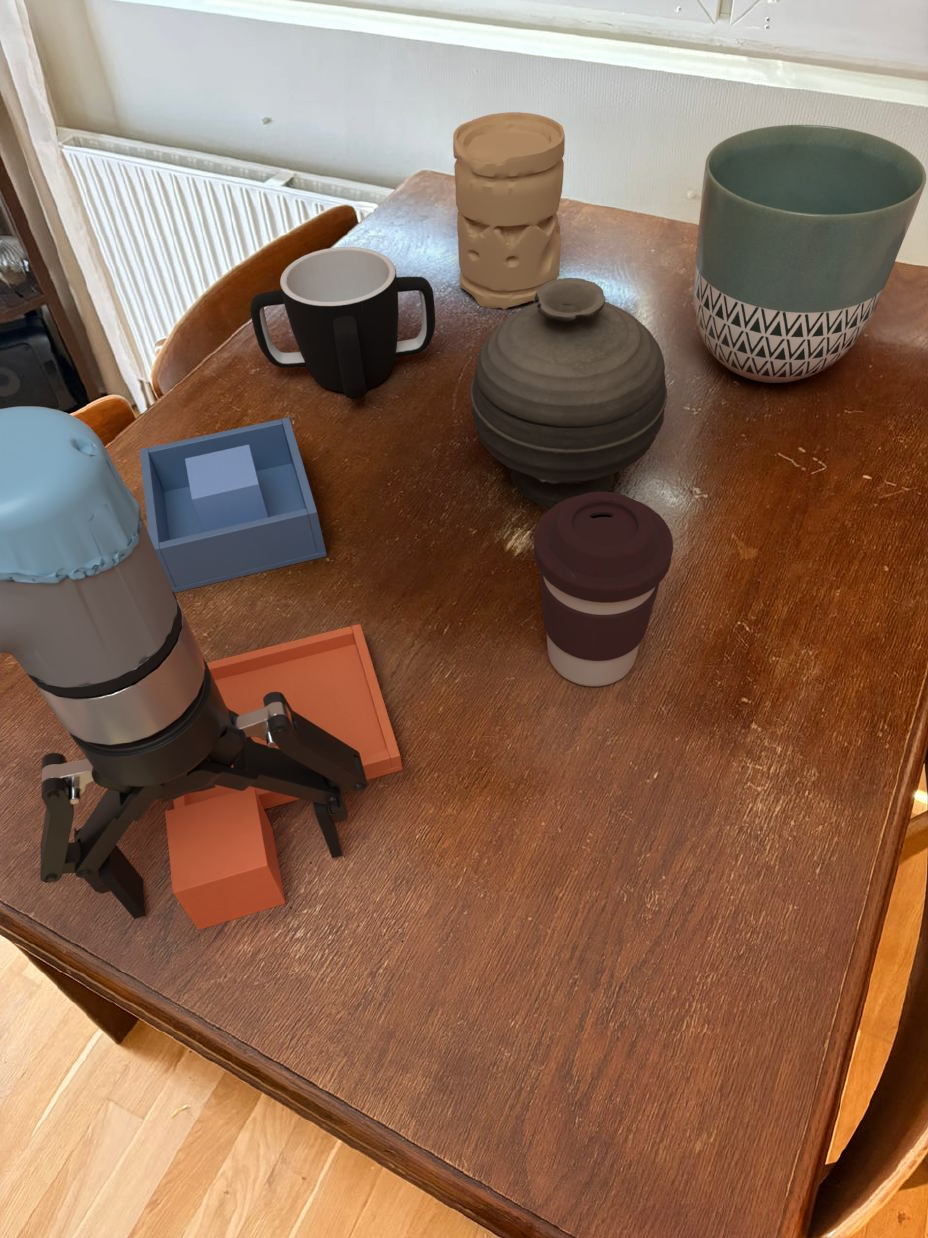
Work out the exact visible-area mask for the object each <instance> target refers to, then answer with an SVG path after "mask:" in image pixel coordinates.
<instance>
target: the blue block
mask: <svg viewBox="0 0 928 1238" xmlns="http://www.w3.org/2000/svg"><path fill="white" fill-rule="evenodd" d="M185 462H186V468H187V474H188V480H189V486H190V492H191V497H192V501H193V504H194V507H195V509H196V512H197V515H198V518H199V520H200V523H201V526H202V529H203V532H207V531H211V530H216V529H220V528H224V527H228V526H233V525H237V524H241V523H246V522H250V521H254V520H259V519H263V518H267V517H269V516H268V512H267V508H266V504H265V500H264V497H263V493H262V489H261V485H260V482H259V478H258V475H257V471H256V468H255V464H254V461H253V457H252V453H251V450H250V446H249V445H244V446H240V447H235V448H231V449H226V450H222V451H217V452H213V453H208V454H204V455H200V456H195V457H191V458H186V459H185Z"/></svg>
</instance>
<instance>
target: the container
mask: <svg viewBox="0 0 928 1238" xmlns="http://www.w3.org/2000/svg"><path fill="white" fill-rule="evenodd" d="M565 138H566V135H565V130H564V127H563V126H562V124H560V123H559V122H558V121H556V120H554V119H553V118H550V117H547V116H544V115H541V114H537V113H530V112H520V111H518V112H516V111H514V112H513V111H512V112H511V111H510V112H498V113H490V114H487V115H482V116H480V117H477V118H475V119H472V120H470V121H466V122H464V123H461V124H460V125H459V126H458V127H456V129H455V130H454V132H453V136H452V149H453V150H452V151H453V158H454V159H455V162H454V166H453V168H454V182H455V183H454V184H455V205H456V208H457V218H456V229H457V232H456V233H457V251H458V266H459V269H460V271H459V287H460V290H464V291H466V292H467V293H468V294H470V295H471V296H472V297H473V298H474V300H475V301H476V303H477V305H479V306H480V307H481V308H482V307H483V308H488V309H496V310H497V309H501V310H503V311H506V310H507V309H509V308H512V307H517V306H520V305H523V304H525V303H529V302H534V296H535V295H536V292H537V290H538V289H539V288H540V287H541V286H542V285H544V284H545V283H548V282H550V281H553V280H557V279H559V276H560V272H561V271H560V267H561V248H562V247H561V245H562V243H561V242H562V238H561V226H560V222H559V216H558V212H559V207H560V203H561V198H562V194H563V184H564V169H565V167H564V166H565V162H564V159H563V158H564V155H565V145H566V144H565V142H566V139H565Z"/></svg>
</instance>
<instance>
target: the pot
mask: <svg viewBox="0 0 928 1238" xmlns="http://www.w3.org/2000/svg"><path fill="white" fill-rule="evenodd" d="M606 300H607V299H606V296H605V295H604V290H603V288H602V287H601V286H600V285H599V284H598V283H596V282H593V281H590V280H587V279H585V278H578V277H563V278H557V279H556V280H553V281H550V282H548V283H545V284H544V285H542V286H541V287H540V288H539V289H538V290H537V292H536V295H535V296H534V301H533V303H532V304H530V305H527V306H525V307H523V308H522V309H520V310H518V311H516V312H515V313H514V314H512V315H510V316H509V317H508V318H506V319H505V320H503V322H501V323H500V324H499V325H498V326H497V327H496V328H495V329H494V331H492V333H491V334H490V335H489V336H488V337H487V339H485V341H484V342H483V345H482V347H481V349H480V350H479V353H478V355H477V358H476V363H475V371H474V373H473V377H472V380H471V382H470V386H469V387H470V388H469V394H470V395H469V397H470V403H471V405H472V408H471V409H472V410H471V413H472V420H473V422H474V426H475V428H476V432H477V435H478V438H479V441H480V443H481V444H482V445H483V447H484V449H486V451H487V452H488V453H489V454H490V455H491V456H492V457H493V458H495V459H496V460H497V461H499V462H500V463H501V464H502V465H504V466H505V467H506V468H508V469H510V470H511V471H510V478H511V479H512V483H513V485H514V487H515V488H516V490H517V491H518V492H519V493H520V494H521V496H522V497H524V498H526V499H527V500H528V501H531V502H532V503H534V504H537V505H539V506H542V507H545V508H548V509H551V508H552V507H554V506H555V505H557V504H558V503H560V502H562V501H564V500H567V499H569V498H572V497H576V496H580V495H583V494H586V493H592V492H609V491H610V490H611V488H612V486H613V485H614V480H615V474H616V473H619V472H621V471H623V470H625V469H627V468H628V467H630V466H632V465H633V464H635V463H637V462H638V461H639V460H640V459H641V458H642V457H644V456H645V455H646V453H647V452H648V451H649V450H650V448H651V446H653V445H652V444H653V443H654V442H655V439H656V437H657V435H658V434H659V433H660V430H661V428H662V426H663V423H664V419H665V409H666V407H667V401H668V388H667V384H666V383H667V382H666V374H665V370H666V365H665V359H664V354H663V352H662V349H661V347H660V345H659V343H658V342H657V340H656V338H655V337H654V335H653V334H652V333H651V331H650V330H649V329H648V328H647V327H646V325H644V323H642V322H641V321H640V320H639V319H637V318H636V317H635V316H634V315H632V314H631V313H629V312H627V311H626V310H624V309H622V308H620V307H618V306H617V305H615V304H612V303H609V302H607V301H606Z"/></svg>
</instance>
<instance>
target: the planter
mask: <svg viewBox="0 0 928 1238" xmlns="http://www.w3.org/2000/svg"><path fill="white" fill-rule="evenodd" d="M702 179H703V180H702V189H701V196H700V197H701V198H700V200H701V201H700V211H699V221H698V231H697V238H696V248H695V249H696V250H695V262H694V271H693V273H694V274H693V282H692V302H693V312H694V313H693V314H694V317H695V323H696V327H697V331H698V334H699V336H700V338H701V340H702V342H703V343H704V345H705V347H706V348H707V350H708V351H709V352H710V354H712V356H713V357H714V358H715V359H716V360H717V361H718V362H719V363H720V364H721V365H723V366H724V367H725V368H727V369H728V370H729V371H731V372H733V373H734V374H736V375H738V376H740V377H742V378H745V379H749V380H751V381H755V382H760V383H766V384H767V383H769V384H780V383H781V384H783V383H791V382H796V381H799V380H802V379H806V378H808V377H811V376H814V375H816V374H818V373H820V372H822V371H824V370H826V369H828V368H830V367H832V365H834V364H835V363H836V362H838V361H839V360H840V359H842V358H843V357H844V356H845V355H846V354H847V353H848V352H849V351H851V349H852V347H854V345H855V344H856V343H857V341H858V340H859V338H860V337H861V335H863V334H864V331H865V329H867V326H868V325H869V323H870V322H871V320H872V317H873V316H874V314H875V311H876V309H877V308H878V304H879V302H880V299H881V297H882V294H883V293H884V290H885V287H886V285H887V282H888V280H889V278H890V276H891V273H892V270H893V267H894V266H895V262H896V260H897V257H898V256H899V253H900V249H901V247H902V245H903V243H904V240H905V238H906V236H907V233H908V230H909V228H910V226H911V223H912V221H913V218H914V216H915V213H916V211H917V208H918V206H919V203H920V200H921V198H922V195H923V192H924V190H925V186H926V183H927V172H926V169H925V167H924V165H923V163H922V162H921V161H920V160H919V159H918V157H917V156H915V155H914V154H913V153H912V152H910V151H909V150H907V149H906V148H904V147H902V146H901V145H899V144H897V143H895V142H893V141H891V140H888V139H886V138H883V137H880V136H877V135H875V134H871V133H868V132H864V131H860V130H855V129H850V128H846V127H845V128H844V127H838V126H830V125H819V124H783V125H773V126H766V127H760V128H755V129H750V130H747V131H743V132H739V133H737V134H735V135H732V136H730V137H728V138H725V139H724V140H722V141H720V142H719V143H718V144H717V145H715V146H714V147H713V148H712V149H711V150H710V151H709V153H708V154H707V157H706V159H705V164H704V171H703V178H702Z"/></svg>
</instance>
